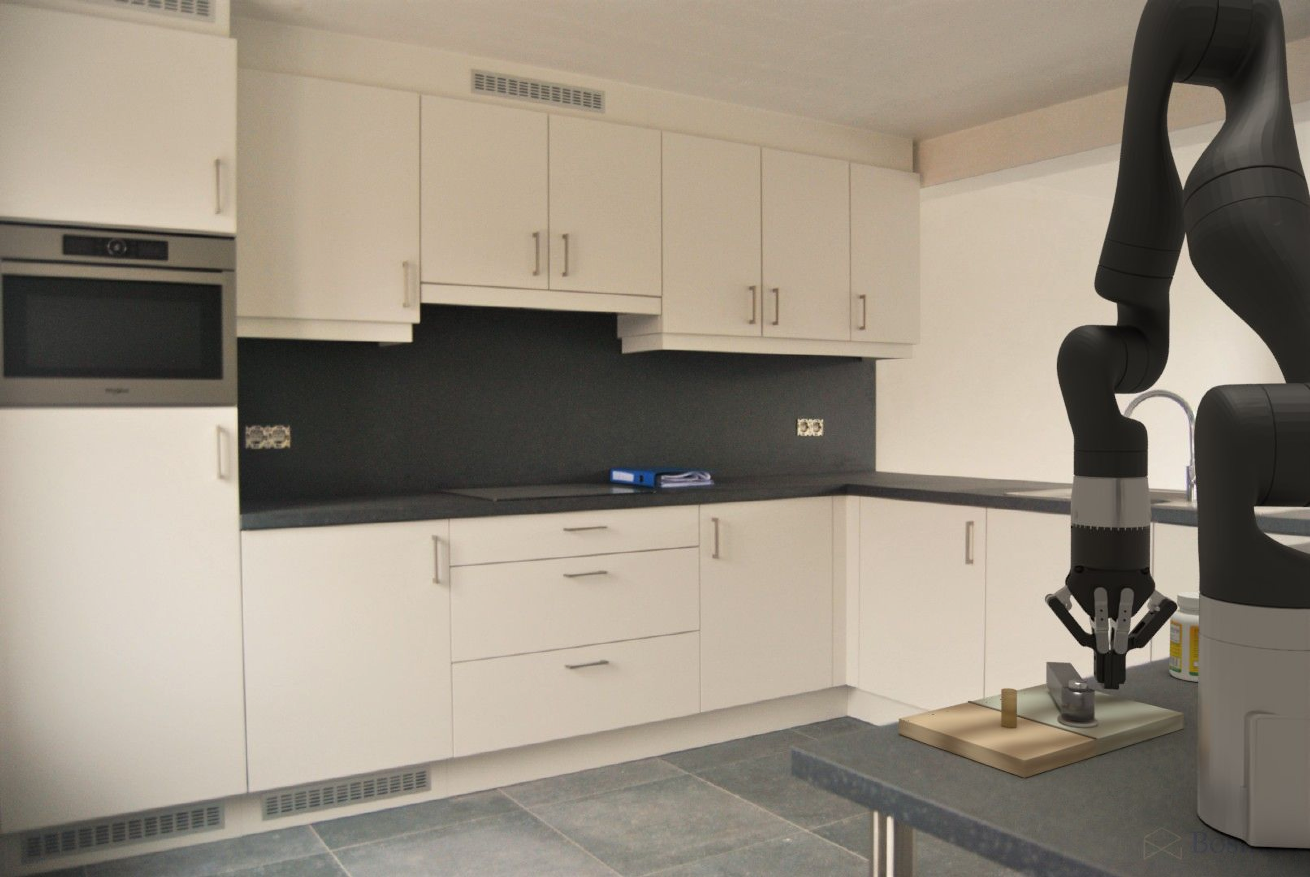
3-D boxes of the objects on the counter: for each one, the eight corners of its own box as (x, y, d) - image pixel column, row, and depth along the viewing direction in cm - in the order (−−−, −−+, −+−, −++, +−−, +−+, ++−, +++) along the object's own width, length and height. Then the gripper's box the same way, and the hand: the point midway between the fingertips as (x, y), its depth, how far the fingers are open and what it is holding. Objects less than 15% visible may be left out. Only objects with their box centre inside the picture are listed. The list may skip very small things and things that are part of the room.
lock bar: (1097, 721, 98) (1097, 686, 98) (1063, 720, 99) (1063, 685, 99) (1073, 686, 110) (1073, 655, 110) (1043, 685, 111) (1043, 654, 111)
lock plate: (1183, 728, 103) (1183, 678, 102) (1024, 777, 89) (1024, 720, 89) (1055, 694, 115) (1055, 650, 115) (898, 733, 102) (898, 683, 101)
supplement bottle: (1161, 676, 122) (1161, 594, 122) (1182, 668, 125) (1182, 589, 125) (1209, 685, 118) (1210, 600, 118) (1229, 677, 121) (1230, 595, 121)
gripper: (1169, 517, 110) (1168, 680, 111) (1036, 515, 113) (1036, 675, 113) (1190, 525, 103) (1189, 700, 103) (1048, 523, 105) (1047, 694, 106)
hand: (1109, 687), depth 108 cm, fingers closed
